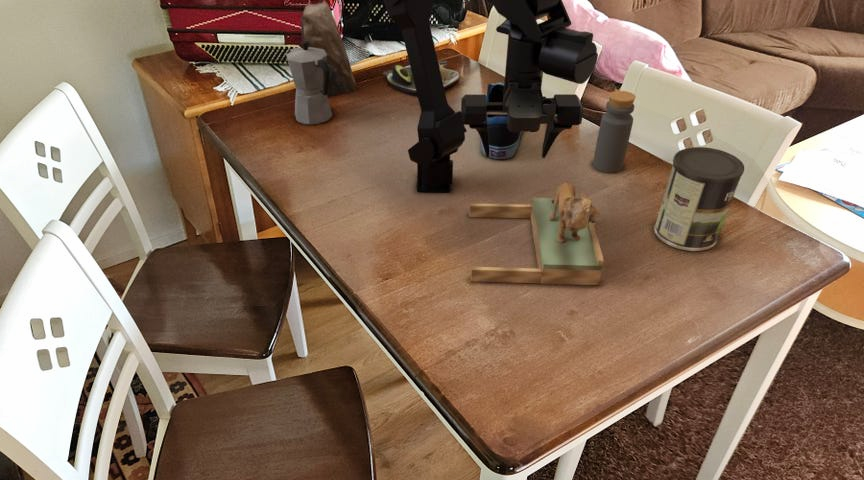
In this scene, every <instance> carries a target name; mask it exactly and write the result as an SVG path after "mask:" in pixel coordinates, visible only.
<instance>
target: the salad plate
mask: <svg viewBox="0 0 864 480" xmlns="http://www.w3.org/2000/svg"><path fill="white" fill-rule="evenodd" d="M438 63H439V68H440V72H441V77H442V81H443V85H444V90H445V89H447V88H448V87H450V86H451V85H452V84H454V83H455V82H456V81H458V80H459V78H460V74H459V72H458V71H456V70H453V69H449V68H447V67H445V66H447V65H449V62H448V61H447V60H445V61H438ZM382 75H384V76H386V81H387V82H388V84H389V85H390V86H391V88H393V89H394V90H397V91H399V92H401V93H404V94H407V95H411V96H417V92H416V88H415V83H414V79H413V75H412V71H411V67H410V64H409V65H408V64H407V66H402V65H400V64H395V65H394V66H393V68H392V69H391V70H385V71H384V72H383V73H382ZM417 97H418V96H417Z"/></svg>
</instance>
